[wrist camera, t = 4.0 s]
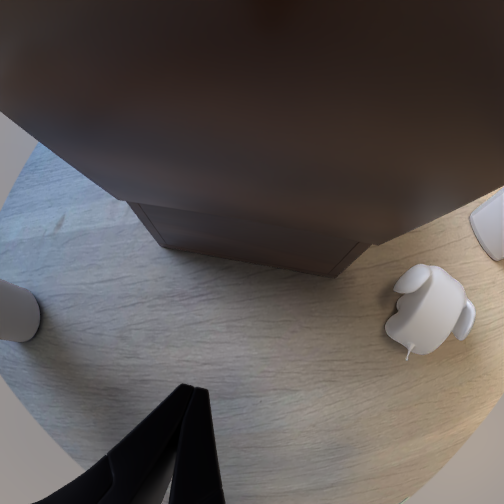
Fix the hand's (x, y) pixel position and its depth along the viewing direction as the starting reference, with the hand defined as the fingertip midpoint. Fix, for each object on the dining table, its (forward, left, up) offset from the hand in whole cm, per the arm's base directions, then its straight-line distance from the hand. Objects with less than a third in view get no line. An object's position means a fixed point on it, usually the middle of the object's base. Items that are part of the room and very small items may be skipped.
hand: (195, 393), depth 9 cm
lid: (+5, +5, +3) cm, 8 cm away
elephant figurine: (+13, -6, -13) cm, 20 cm away
